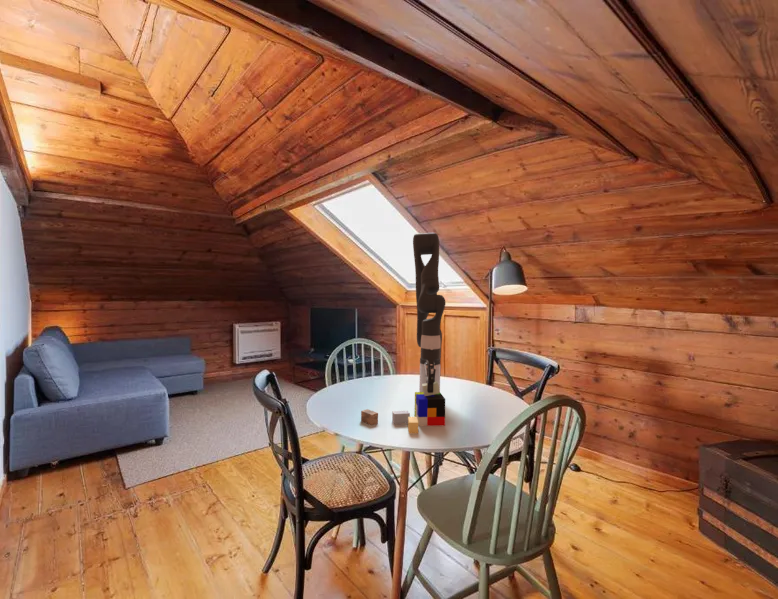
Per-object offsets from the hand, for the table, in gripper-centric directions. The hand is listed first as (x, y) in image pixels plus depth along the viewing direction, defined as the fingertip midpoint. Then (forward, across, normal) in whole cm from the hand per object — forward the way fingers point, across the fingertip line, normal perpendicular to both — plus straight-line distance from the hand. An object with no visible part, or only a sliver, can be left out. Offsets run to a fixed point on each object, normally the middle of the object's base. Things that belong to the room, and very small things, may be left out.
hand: (429, 390), depth 152 cm
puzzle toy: (+12, 0, 0) cm, 12 cm away
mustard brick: (+12, +10, -7) cm, 17 cm away
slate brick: (+12, +2, -11) cm, 16 cm away
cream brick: (+1, 0, +1) cm, 1 cm away
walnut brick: (+12, +2, -23) cm, 26 cm away
